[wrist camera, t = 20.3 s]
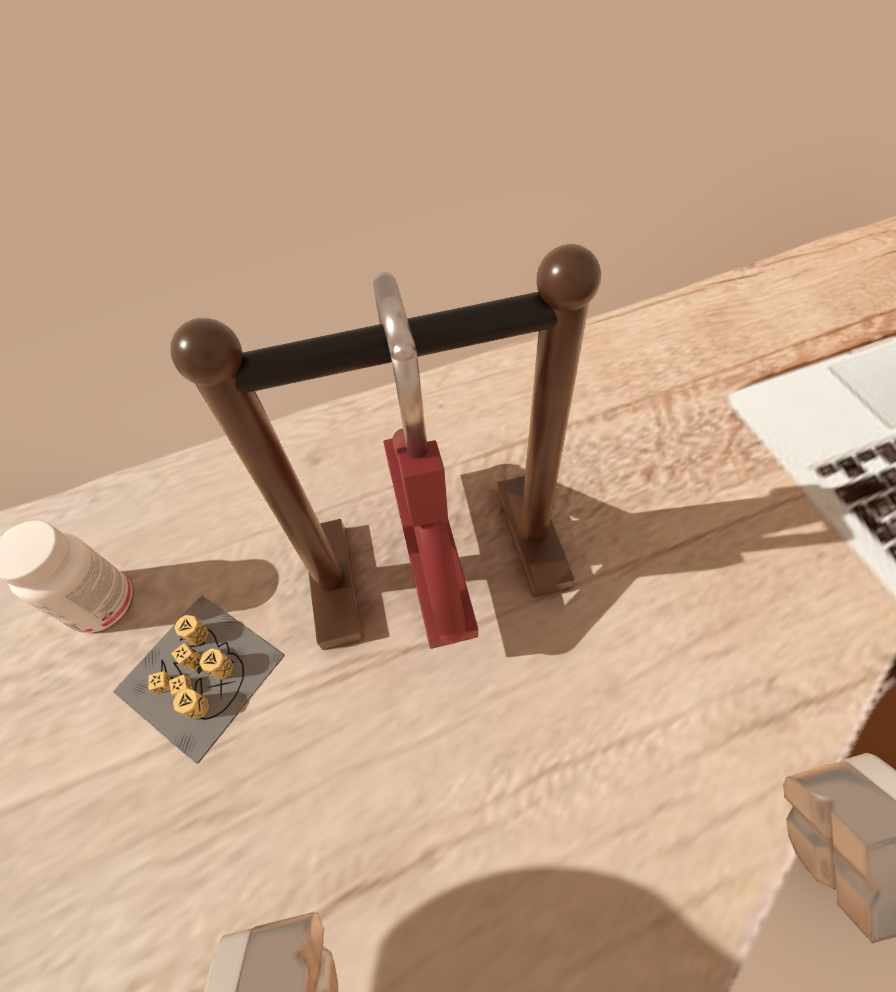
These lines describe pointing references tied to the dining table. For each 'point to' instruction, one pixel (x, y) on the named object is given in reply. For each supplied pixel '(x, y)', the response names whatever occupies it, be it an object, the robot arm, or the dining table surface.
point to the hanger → (422, 487)
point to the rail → (236, 376)
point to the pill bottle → (63, 577)
